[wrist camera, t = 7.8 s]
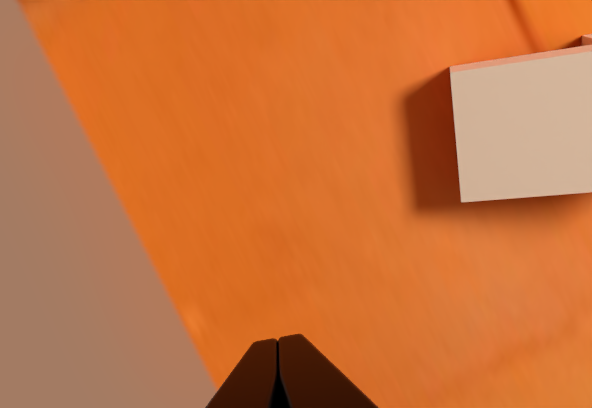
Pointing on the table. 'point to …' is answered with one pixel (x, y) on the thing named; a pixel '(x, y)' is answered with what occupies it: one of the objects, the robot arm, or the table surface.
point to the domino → (524, 125)
